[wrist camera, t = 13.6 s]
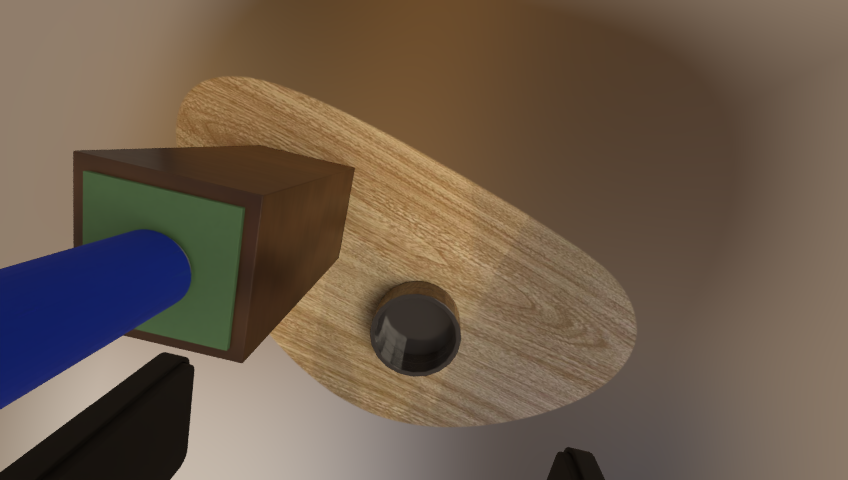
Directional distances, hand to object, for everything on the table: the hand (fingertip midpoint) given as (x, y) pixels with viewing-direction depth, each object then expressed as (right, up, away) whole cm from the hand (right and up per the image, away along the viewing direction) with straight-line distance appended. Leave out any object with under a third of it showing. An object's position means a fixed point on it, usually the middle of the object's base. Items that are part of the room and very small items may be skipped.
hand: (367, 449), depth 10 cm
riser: (-14, +10, +40) cm, 44 cm away
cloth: (-16, +4, +16) cm, 22 cm away
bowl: (+1, -6, +43) cm, 43 cm away
